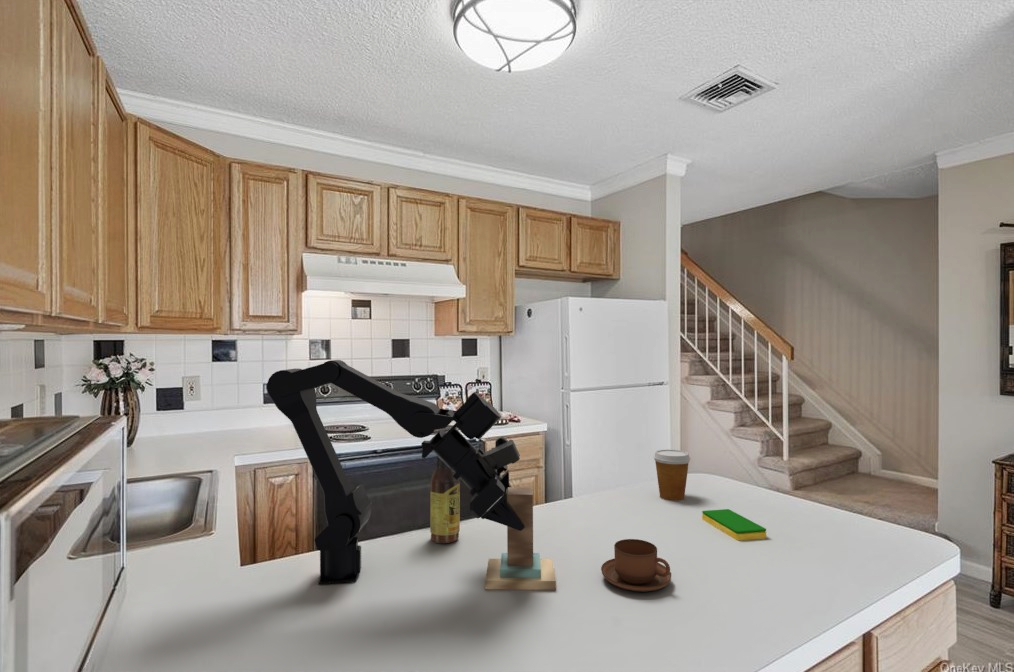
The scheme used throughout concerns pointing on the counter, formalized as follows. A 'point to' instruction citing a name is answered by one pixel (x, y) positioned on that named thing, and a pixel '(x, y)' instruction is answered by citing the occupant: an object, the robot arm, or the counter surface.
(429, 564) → the counter surface
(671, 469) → the disposable coffee cup
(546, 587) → the plinth
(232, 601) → the counter surface
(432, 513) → the sauce bottle
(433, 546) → the counter surface
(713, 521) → the dish sponge
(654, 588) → the cup and saucer
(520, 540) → the pillar
